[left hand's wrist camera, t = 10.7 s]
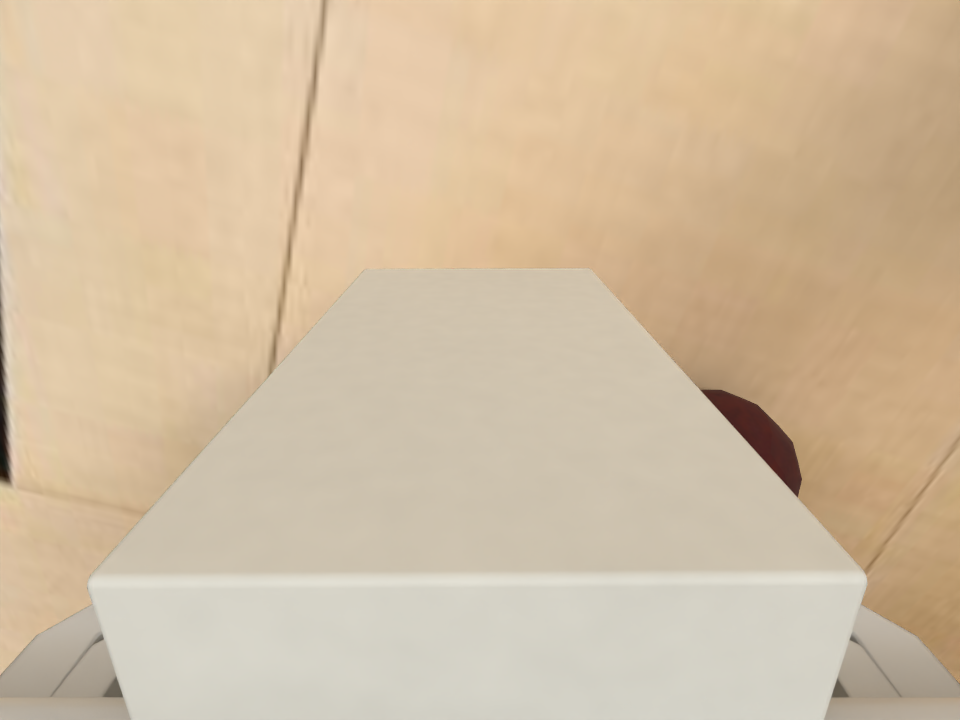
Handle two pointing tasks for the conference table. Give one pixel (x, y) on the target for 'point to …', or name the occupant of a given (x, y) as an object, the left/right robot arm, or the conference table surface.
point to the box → (477, 530)
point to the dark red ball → (760, 435)
